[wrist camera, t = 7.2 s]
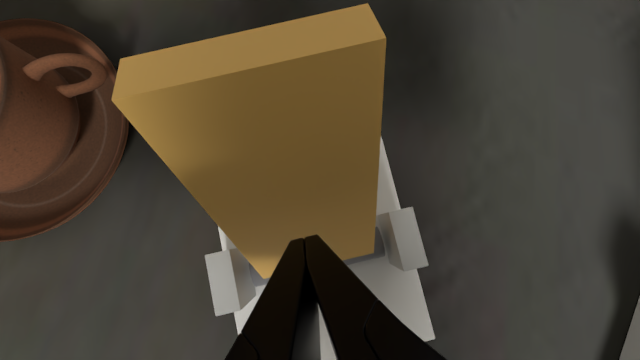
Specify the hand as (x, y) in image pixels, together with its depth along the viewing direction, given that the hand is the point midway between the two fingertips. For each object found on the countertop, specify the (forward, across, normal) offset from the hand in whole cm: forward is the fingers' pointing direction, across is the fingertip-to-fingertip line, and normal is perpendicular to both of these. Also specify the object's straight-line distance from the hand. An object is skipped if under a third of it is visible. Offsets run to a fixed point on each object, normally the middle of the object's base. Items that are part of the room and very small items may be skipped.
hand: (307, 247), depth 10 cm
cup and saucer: (+13, -14, +1) cm, 19 cm away
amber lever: (+4, 0, -4) cm, 6 cm away
